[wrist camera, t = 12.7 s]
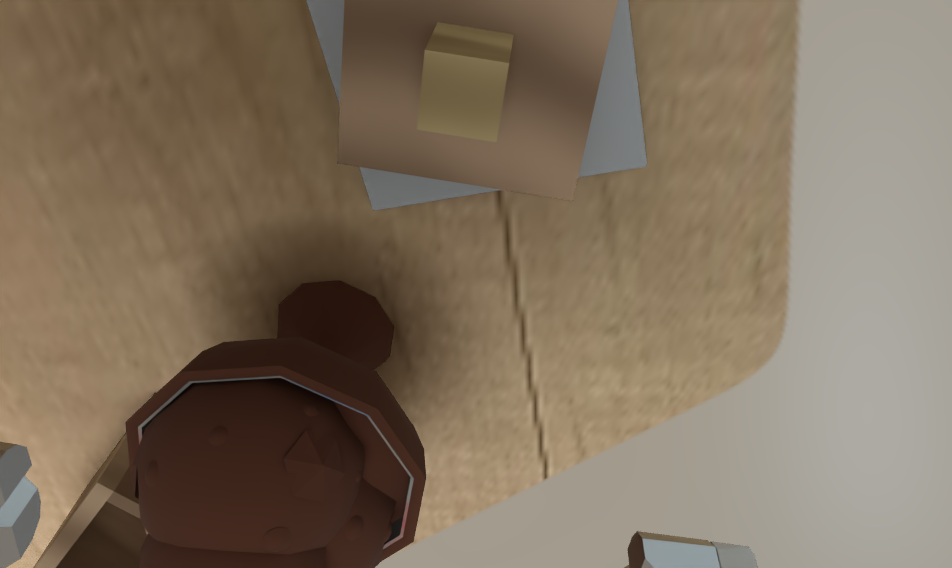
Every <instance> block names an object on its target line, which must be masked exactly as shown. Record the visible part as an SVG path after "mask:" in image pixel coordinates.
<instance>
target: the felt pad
mask: <svg viewBox="0 0 952 568" xmlns="http://www.w3.org/2000/svg"><path fill="white" fill-rule="evenodd" d="M306 1H307V4H308V8H309V11H310V14H311V17H312V20H313V23H314V26H315V30H316V33H317V36H318V39H319V42H320V45H321V48H322V51H323V55H324V58H325V61H326V64H327V67H328V70H329V73H330V77H331V80H332V83H333V86H334V89H335V92H336V95H337V99H338V102H339V105H340V91H341V68H342V45H343V23H344V0H306ZM646 166H647V160H646V151H645V142H644V133H643V125H642V116H641V107H640V98H639V90H638V81H637V72H636V63H635V55H634V46H633V37H632V28H631V20H630V11H629V2H628V0H618V4H617V8H616V13H615V17H614V22H613V26H612V30H611V35H610V39H609V44H608V48H607V53H606V57H605V61H604V66H603V70H602V75H601V79H600V83H599V88H598V92H597V97H596V101H595V105H594V110H593V114H592V119H591V123H590V127H589V132H588V136H587V141H586V145H585V149H584V154H583V158H582V163H581V167H580V171H579V176H578V178H579V177H585V176H591V175H597V174H603V173H609V172H616V171H622V170H628V169H634V168H640V167H646ZM359 168H360V171H361V174H362V177H363V180H364V183H365V187H366V190H367V193H368V196H369V199H370V202H371V205H372V209H373V211H375V210H381V209H387V208H393V207H399V206H406V205H412V204H418V203H424V202H430V201H437V200H443V199H449V198H455V197H461V196H467V195H474V194H480V193H486V192H492V191H498V190H500V189H494V188H487V187H481V186H475V185H469V184H463V183H456V182H450V181H444V180H438V179H431V178H425V177H419V176H413V175H407V174H400V173H394V172H388V171H382V170H375V169H369V168H363V167H359Z"/></svg>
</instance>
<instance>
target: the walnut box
mask: <svg viewBox="0 0 952 568" xmlns="http://www.w3.org/2000/svg"><path fill="white" fill-rule="evenodd" d="M155 394H156V393H154V395H155ZM154 395H153V396H154ZM153 396H152V397H153ZM146 536H147V534H146V531H145V528H144V526H143V524H142V522H141V519H140V510H139V500H138V499H137V498H136V497H135V496H134V492H133V491H132V486H131V475H130V465H129V454H128V443H127V432H126V433H125V435H124V436H123V437H122V439H121V440H120V441H119V443H118V444H117V446H116V447H115V448H114V450H113V451H112V452H111V454H110V455H109V457H108V458H107V459H106V461H105V462H104V463H103V465H102V466H101V468H100V469H99V470H98V472H97V473H96V474H95V476H94V477H93V479H92V480H91V481H90V483H89V484H88V485H87V487H86V488H85V490H84V491H83V493H82V494H81V496H80V497H79V499H78V501H77V502H76V504H75V505H74V507H73V508H72V510H71V511H70V513H69V514H68V516H67V517H66V519H65V520H64V522H63V523H62V525H61V526H60V528H59V530H58V531H57V533H56V534H55V536H54V537H53V539H52V540H51V542H50V543H49V545H48V546H47V548H46V549H45V551H44V552H43V554H42V555H41V557H40V558H39V560H38V562H37V563H36V565H35V566H34V568H139V562H140V553H141V547H142V545H143V543H144V541H145V539H146Z"/></svg>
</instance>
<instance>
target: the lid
mask: <svg viewBox="0 0 952 568" xmlns="http://www.w3.org/2000/svg"><path fill="white" fill-rule="evenodd" d="M617 4H618V0H344V23H343V45H342V68H341V91H340V113H339V136H338V159H337V163H338V164H344V165H351V166H357V167H363V168H369V169H375V170H382V171H388V172H394V173H400V174H407V175H413V176H419V177H425V178H431V179H438V180H444V181H450V182H456V183H463V184H469V185H475V186H481V187H487V188H494V189H500V190H506V191H512V192H519V193H525V194H531V195H537V196H543V197H550V198H556V199H562V200H568V201H573V198H574V194H575V189H576V185H577V180H578V176H579V171H580V167H581V163H582V158H583V154H584V149H585V145H586V141H587V136H588V132H589V127H590V123H591V119H592V114H593V110H594V105H595V101H596V97H597V92H598V88H599V83H600V79H601V75H602V70H603V66H604V61H605V57H606V53H607V48H608V44H609V39H610V35H611V30H612V26H613V22H614V17H615V13H616V8H617Z"/></svg>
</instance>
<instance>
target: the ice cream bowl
mask: <svg viewBox="0 0 952 568" xmlns="http://www.w3.org/2000/svg"><path fill="white" fill-rule="evenodd" d="M393 330H394V326H393V324H392V323H391V321H390V320H389V318H388V317H387V315H386V313H385V312H384V310H383V309H382V307H381V306H380V304H379V303H378V301H377V300H376V298H375V297H373V296H371V295H369V294H367V293H365V292H362V291H360V290H358V289H356V288H354V287H352V286H350V285H348V284H346V283H344V282H341V281H331V282H318V283H305V284H302V285H301V286H299V287H298V288H297V289H296V290H295V291H294V292H293V293H292V294H290V295H289V296H288V297H287V298H286V299H285V300H284V301H283V302H281V303H280V304H279V313H278V335H277V339H262V340H248V341H233V342H223V343H221V344H218V345H216V346H214V347H211V348H209V349H207V350H204V351H202V352H201V353H200V354H199V355H198V356H197V357H196V358H195V359H193V360H192V361H191V362H190V363H189V364H188V365H187V366H186V367H185V368H184V369H182V370H181V371H180V372H179V373H178V374H177V375H176V376H175V377H174V378H173V379H171V380H170V381H169V382H168V383H167V384H166V385H165V386H164V387H163V388H162V389H160V390H159V391H158V392H157V393H156V394H155V395H154V396H153V397H152V398H151V399H149V400H148V401H147V402H146V403H145V404H144V405H143V406H142V407H141V408H140V409H139V410H138V411H137V412H136V413H135V414H134V415H133V416H132V417H131V418H129V419H128V420H127V421H126V432H127V443H128V454H129V465H130V475H131V486H132V491H133V492H134V496H135V497H136V498H137V499H138V500H139V510H140V519H141V522H142V524H143V526H144V527H145V529H146V531H147V532H148V534H147V536H146V539H145V541H144V543H143V545H142V547H141V553H140V562H139V568H375V566H377V565H378V564H379V563H380V562H381V561H382V560H384V559H386V558H387V557H389V556H391V555H392V554H394V553H396V552H397V551H399V550H400V549H402V548H404V547H405V546H407V545H409V544H410V543H412V542H413V541H414V536H415V531H416V526H417V521H418V516H419V511H420V506H421V501H422V496H423V491H424V486H425V481H426V470H425V457H424V448H423V446H422V444H421V441H420V439H419V437H418V434H417V432H416V430H415V428H414V426H413V424H412V423H411V422H410V420H409V419H408V417H407V416H406V414H405V413H404V411H403V410H402V408H401V407H400V405H399V404H398V402H397V401H396V400H395V398H394V397H393V395H392V394H391V392H390V391H389V389H388V388H387V386H386V385H385V383H384V382H383V380H382V379H381V378H380V376H379V375H378V373H377V372H376V371H375V370H374V369H376V368H377V367H378V366H380V365H381V364H382V363H383V362H385V361H386V360H387V358H388V357H389V356H390V351H391V344H392V337H393Z"/></svg>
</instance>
